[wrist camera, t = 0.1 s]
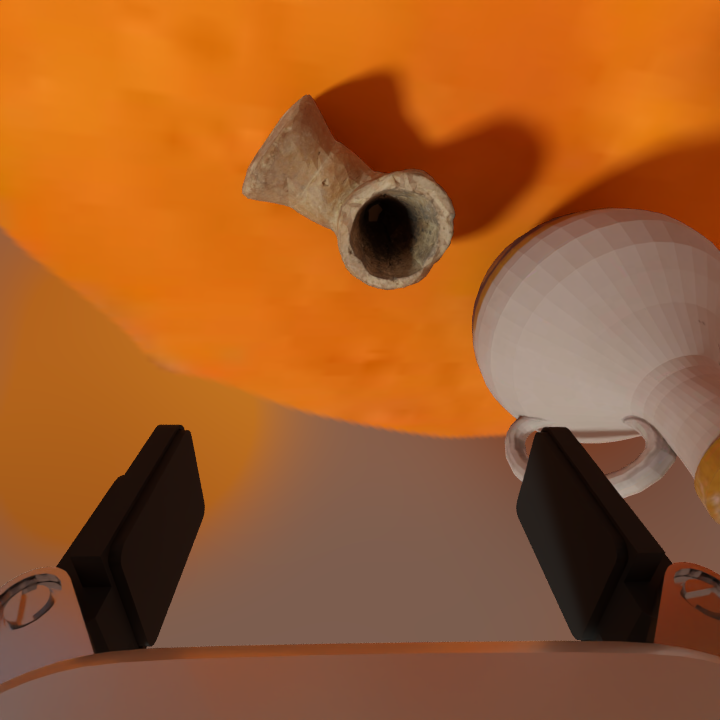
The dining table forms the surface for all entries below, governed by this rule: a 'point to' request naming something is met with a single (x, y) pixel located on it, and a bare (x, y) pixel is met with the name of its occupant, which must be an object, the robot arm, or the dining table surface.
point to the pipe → (353, 200)
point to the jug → (609, 341)
